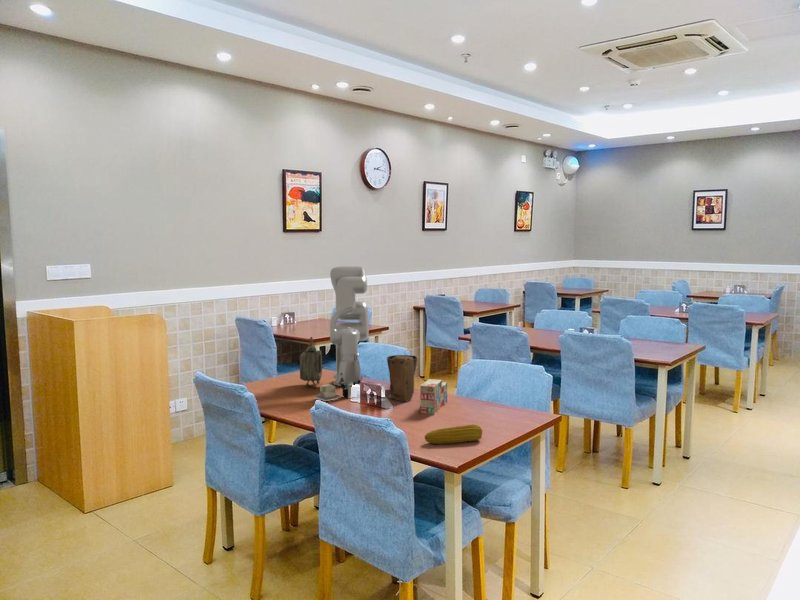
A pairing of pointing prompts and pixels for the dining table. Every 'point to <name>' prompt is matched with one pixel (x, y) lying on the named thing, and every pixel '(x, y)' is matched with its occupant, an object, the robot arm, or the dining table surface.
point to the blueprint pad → (327, 398)
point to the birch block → (327, 391)
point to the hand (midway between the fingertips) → (350, 395)
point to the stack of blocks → (432, 396)
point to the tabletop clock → (311, 365)
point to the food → (454, 434)
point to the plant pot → (406, 355)
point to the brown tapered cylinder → (402, 378)
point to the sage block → (349, 390)
